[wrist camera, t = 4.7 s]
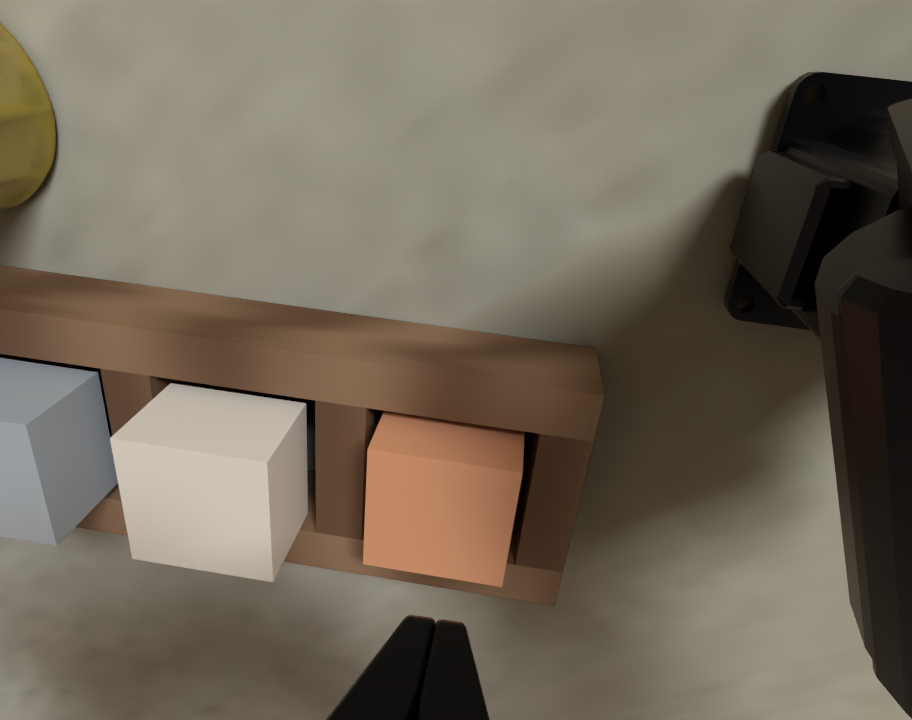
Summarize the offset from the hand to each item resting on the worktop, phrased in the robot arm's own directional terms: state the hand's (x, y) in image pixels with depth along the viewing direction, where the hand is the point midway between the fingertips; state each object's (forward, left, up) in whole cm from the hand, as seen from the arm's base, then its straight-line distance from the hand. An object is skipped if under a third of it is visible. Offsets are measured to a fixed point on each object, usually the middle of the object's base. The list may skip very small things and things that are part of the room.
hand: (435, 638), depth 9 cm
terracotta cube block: (+1, +5, -10) cm, 11 cm away
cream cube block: (+7, +5, -9) cm, 13 cm away
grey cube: (+14, +5, -9) cm, 17 cm away
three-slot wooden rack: (+7, +5, -12) cm, 15 cm away
